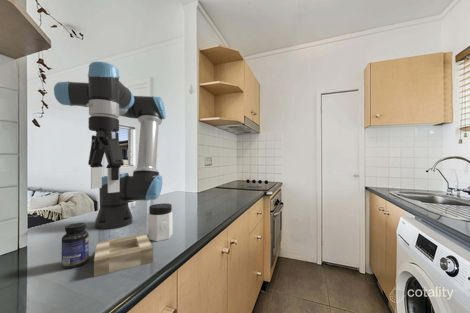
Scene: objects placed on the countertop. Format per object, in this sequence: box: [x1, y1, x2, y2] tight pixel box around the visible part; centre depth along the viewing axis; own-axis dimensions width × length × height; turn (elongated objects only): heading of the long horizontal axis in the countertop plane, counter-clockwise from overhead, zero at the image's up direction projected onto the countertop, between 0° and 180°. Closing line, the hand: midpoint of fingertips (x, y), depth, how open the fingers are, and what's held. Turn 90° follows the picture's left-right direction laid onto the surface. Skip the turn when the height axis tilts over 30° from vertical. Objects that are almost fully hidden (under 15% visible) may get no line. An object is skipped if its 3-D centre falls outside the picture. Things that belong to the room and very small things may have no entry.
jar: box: [147, 203, 174, 242], centre depth 78 cm, size 9×8×12 cm
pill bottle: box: [61, 222, 90, 269], centre depth 58 cm, size 6×6×11 cm
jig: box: [93, 233, 154, 278], centre depth 62 cm, size 16×14×4 cm
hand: (104, 190), depth 59 cm, fingers open, 13 cm apart
